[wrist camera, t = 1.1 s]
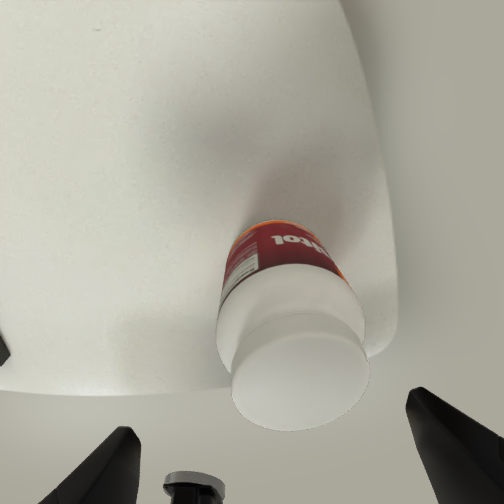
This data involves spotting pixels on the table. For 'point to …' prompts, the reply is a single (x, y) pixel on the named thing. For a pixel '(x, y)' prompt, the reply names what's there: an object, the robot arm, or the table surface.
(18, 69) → the table surface
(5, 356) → the scale
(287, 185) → the table surface
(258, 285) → the pill bottle
